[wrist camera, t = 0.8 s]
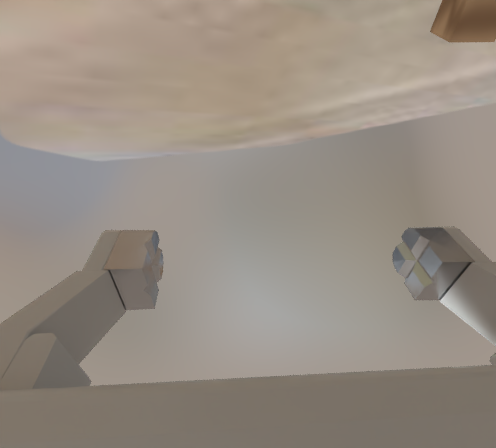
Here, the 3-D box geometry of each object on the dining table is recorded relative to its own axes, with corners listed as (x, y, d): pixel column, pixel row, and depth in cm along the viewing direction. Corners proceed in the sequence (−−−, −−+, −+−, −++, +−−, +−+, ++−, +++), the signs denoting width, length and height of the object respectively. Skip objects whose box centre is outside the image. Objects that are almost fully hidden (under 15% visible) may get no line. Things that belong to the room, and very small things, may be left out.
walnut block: (450, -22, 31) (475, -16, 28) (495, -23, 31) (526, -17, 27) (429, 31, 35) (449, 42, 31) (469, 31, 35) (494, 41, 31)
